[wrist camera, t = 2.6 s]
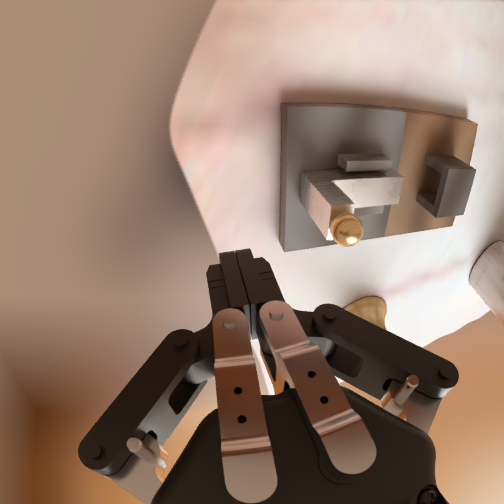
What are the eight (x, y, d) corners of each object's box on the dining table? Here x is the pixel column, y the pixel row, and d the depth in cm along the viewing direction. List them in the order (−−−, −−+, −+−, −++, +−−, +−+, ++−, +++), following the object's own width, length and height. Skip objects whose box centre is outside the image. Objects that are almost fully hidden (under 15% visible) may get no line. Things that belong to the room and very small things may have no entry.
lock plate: (467, 119, 22) (500, 135, 19) (444, 219, 30) (469, 242, 26) (280, 103, 20) (304, 116, 16) (279, 242, 27) (295, 276, 23)
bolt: (390, 167, 22) (446, 210, 17) (386, 193, 24) (437, 240, 18) (298, 172, 21) (341, 222, 16) (296, 201, 23) (335, 258, 17)
